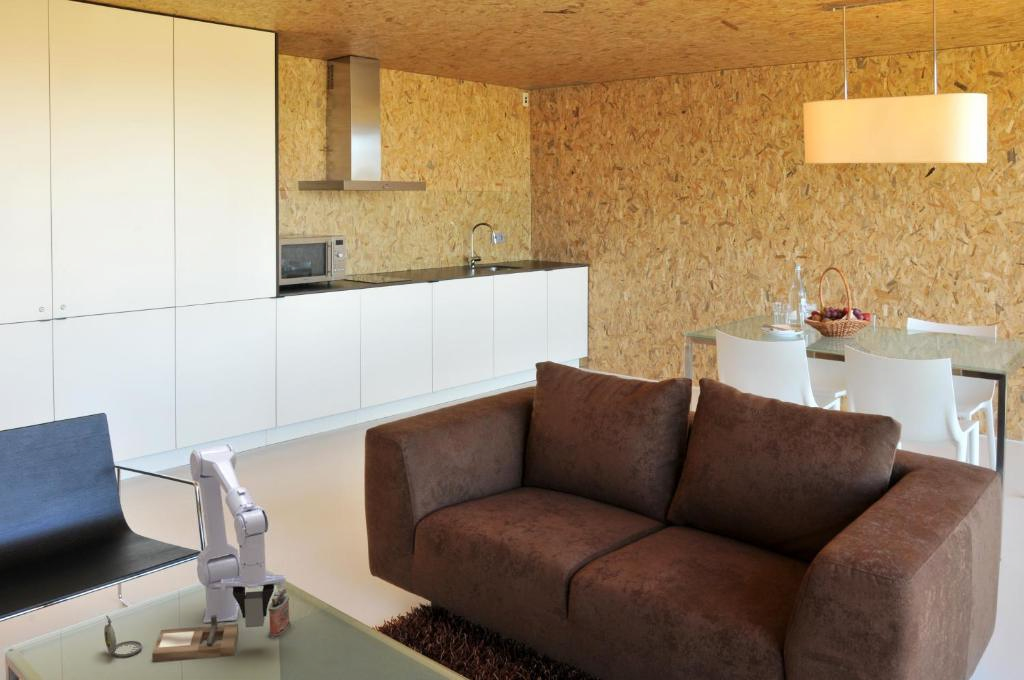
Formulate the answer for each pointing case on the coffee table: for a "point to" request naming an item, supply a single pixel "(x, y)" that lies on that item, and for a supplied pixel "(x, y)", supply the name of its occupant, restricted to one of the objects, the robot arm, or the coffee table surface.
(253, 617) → the gray rectangular block
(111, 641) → the pocket watch
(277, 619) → the lighter
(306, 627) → the coffee table surface
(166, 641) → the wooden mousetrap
